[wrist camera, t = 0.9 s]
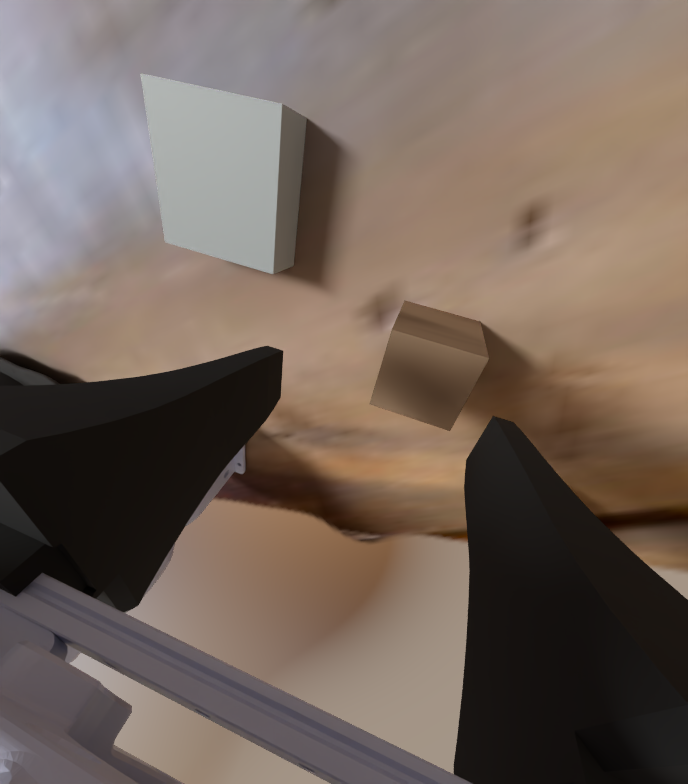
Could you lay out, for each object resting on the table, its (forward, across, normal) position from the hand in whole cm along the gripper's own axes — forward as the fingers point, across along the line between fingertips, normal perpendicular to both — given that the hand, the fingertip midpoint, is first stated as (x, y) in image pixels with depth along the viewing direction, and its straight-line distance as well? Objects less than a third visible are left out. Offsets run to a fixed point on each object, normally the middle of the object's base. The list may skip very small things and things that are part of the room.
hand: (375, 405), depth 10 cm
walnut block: (+10, -2, +2) cm, 10 cm away
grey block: (+10, +11, -5) cm, 16 cm away
